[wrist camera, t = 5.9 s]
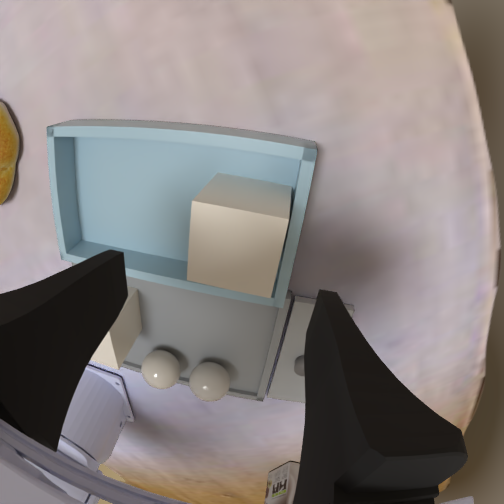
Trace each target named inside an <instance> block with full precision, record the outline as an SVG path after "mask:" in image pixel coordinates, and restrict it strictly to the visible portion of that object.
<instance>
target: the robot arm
mask: <svg viewBox="0 0 504 504" xmlns="http://www.w3.org/2000/svg"><path fill="white" fill-rule="evenodd" d="M127 298H128V288H127V279H126V270H125V260H124V252H121V251H116V250H112V249H109V250H107V251H104V252H102V253H99V254H97V255H95V256H93V257H90V258H88V259H86V260H84V261H82V262H80V263H78V264H76V265H74V266H72V267H70V268H68V269H66V270H63V271H61V272H59V273H57V274H55V275H52V276H50V277H48V278H46V279H44V280H41V281H39V282H36V283H34V284H31V285H28V286H25V287H23V288H20V289H17V290H13V291H10V292H6V293H2V294H0V504H97V503H98V501H99V499H100V498H101V499H103V500H105V501H108V502H110V503H113V504H190V503H186V502H182V501H178V500H175V499H171V498H167V497H164V496H161V495H157V494H154V493H151V492H148V491H145V490H142V489H139V488H136V487H133V486H130V485H128V484H125V483H122V482H120V481H117V480H115V479H112V478H109V477H107V476H105V475H103V474H102V472H101V471H100V470H98V467H99V465H100V464H102V463H104V462H105V461H106V460H107V459H108V458H109V457H110V456H111V454H112V451H113V449H114V447H115V444H116V442H117V440H118V438H119V435H120V433H121V431H122V429H123V426H124V424H125V422H126V421H129V422H134V416H133V413H132V410H131V407H130V404H129V401H128V398H127V395H126V391H125V388H124V385H123V381H122V379H121V378H120V377H119V376H117V375H114V374H111V373H108V372H105V371H102V370H100V369H97V368H94V367H92V366H89V365H87V364H88V363H89V361H90V359H91V357H92V356H93V354H94V353H95V351H96V350H97V348H98V347H99V345H100V344H101V342H102V341H103V339H104V338H105V336H106V335H107V333H108V332H109V330H110V328H111V327H112V325H113V324H114V322H115V321H116V319H117V318H118V316H119V314H120V312H121V310H122V308H123V306H124V304H125V302H126V300H127ZM304 374H305V426H304V436H303V445H302V452H301V460H300V467H299V473H298V479H297V485H296V490H295V495H294V500H293V504H434V498H435V497H437V496H438V495H439V489H438V485H439V484H440V483H442V482H443V481H445V480H446V479H448V478H449V477H450V476H452V475H453V474H455V473H456V472H457V471H458V470H460V469H461V468H462V467H463V465H464V464H465V463H466V461H467V458H468V455H467V451H466V447H465V443H464V439H463V435H462V432H461V430H460V429H459V428H457V427H456V426H454V425H453V424H451V423H450V422H448V421H447V420H445V419H444V418H442V417H441V416H439V415H438V414H437V413H435V412H434V411H433V410H432V409H430V408H429V407H428V406H427V405H425V404H424V403H423V402H422V401H421V400H419V399H418V398H417V397H416V396H415V395H414V394H413V393H412V392H411V391H409V390H408V389H407V388H406V387H405V386H404V385H403V384H402V383H401V382H400V381H399V380H398V379H397V378H396V377H395V375H394V374H393V373H392V372H391V371H390V370H389V369H388V368H387V366H386V365H385V364H384V363H383V362H382V361H381V359H380V358H379V357H378V356H377V354H376V353H375V352H374V350H373V349H372V347H371V346H370V345H369V343H368V342H367V341H366V339H365V338H364V336H363V335H362V333H361V332H360V330H359V329H358V327H357V325H356V324H355V322H354V321H353V319H352V317H351V316H350V314H349V312H348V311H347V309H346V307H345V306H344V304H343V302H342V300H341V299H340V297H339V296H338V294H337V292H332V291H326V290H319V293H318V297H317V300H316V303H315V306H314V309H313V312H312V316H311V319H310V322H309V325H308V328H307V331H306V339H305V350H304ZM441 504H474V501H473V497H471V496H469V497H465V498H461V499H457V500H452V501H448V502H445V503H441Z"/></svg>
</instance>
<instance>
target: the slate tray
mask: <svg viewBox="0 0 504 504" xmlns="http://www.w3.org/2000/svg"><path fill="white" fill-rule="evenodd" d="M76 264H77V263H73V262H72V266H74V265H76ZM126 279H127V286H129V287H133V288H137V289H138V297H139V306H140V315H141V323H142V330H141V332H140V333H139V335H138V337H137V339H136V340H135V342H134V344H133V346H132V347H131V349H130V351H129V353H128V355H127V356H126V358H125V360H124V362H123V363H122V365H121V367H124V368H127V369H130V370H133V371H136V372H140V373H142V372H141V365H142V362H143V360H144V358H145V357H146V355H148V354H149V353H150V352H152V351H155V350H165V351H168V352H170V353H172V354H173V355H174V356H175V357H176V358H177V360H178V361H179V363H180V367H181V374H180V378H179V380H178V381H177V383H179V384H182V385H186V386H190V385H189V377H190V374H191V372H192V370H193V369H194V368H195V367H196V366H197V365H199V364H201V363H204V362H214V363H217V364H220V365H221V366H223V367H224V368H225V369H226V371H227V372H228V374H229V376H230V388H229V390H228V392H227V394H226V395H230V396H235V397H241V398H246V399H251V400H257V401H263V399H264V396H265V392H266V389H267V386H268V382H269V379H270V375H271V372H272V368H273V365H274V361H275V357H276V354H277V350H278V347H279V343H280V339H281V336H282V332H283V328H284V324H285V321H286V317H287V313H288V309H289V305H290V301H291V291H288V290H287V294H286V298H285V302H284V306H283V308H278V307H273V306H267V305H262V304H256V303H251V302H246V301H241V300H235V299H230V298H225V297H220V296H215V295H210V294H206V293H201V292H196V291H191V290H186V289H182V288H177V287H173V286H168V285H164V284H159V283H155V282H150V281H146V280H142V279H137V278H133V277H129V276H126ZM316 300H317V299H312V298H306V297H300V296H295V298H294V302H293V306H292V309H291V313H290V317H289V321H288V324H287V328H286V331H285V335H284V339H283V342H282V346H281V349H280V353H279V356H278V360H277V363H276V367H275V370H274V373H273V377H272V380H271V384H270V387H269V390H268V395H267V398H273V399H279V400H286V401H293V402H301V403H305V374H304V350H305V339H306V331H307V328H308V325H309V322H310V319H311V316H312V312H313V309H314V306H315V303H316ZM344 306H345V307H346V309H347V311H348V312H349V314H350V316H351V317H352V316H353V313H354V306H353V305H348V304H344Z"/></svg>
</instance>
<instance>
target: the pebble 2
mask: <svg viewBox="0 0 504 504" xmlns="http://www.w3.org/2000/svg"><path fill="white" fill-rule="evenodd" d="M189 385H190V388H191V391H192V392H193V394H194V395H195V396H196V397H198V398H199V399H201V400H203V401H208V402H212V401H217V400H220V399H221V398H223V397H224V396H225V395H226V394H227V392H228V390H229V388H230V376H229V374H228V372H227V371H226V369H225V368H224V367H223V366H221V365H220V364H217V363H214V362H204V363H201V364H199V365H197V366H196V367H195V368H194V369H193V370H192V372H191V374H190V377H189Z"/></svg>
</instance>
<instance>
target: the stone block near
mask: <svg viewBox="0 0 504 504" xmlns="http://www.w3.org/2000/svg"><path fill="white" fill-rule="evenodd" d="M291 190H292V186H288V185H283V184H278V183H273V182H268V181H263V180H258V179H252V178H247V177H242V176H236V175H230V174H225V173H219V172H218V173H217V174H216V175H215V176H214V177H213V178H212V179H211V180H210V181H209V182H208V184H207V185H206V186H205V187H204V188H203V189H202V190H201V191H200V192H199V193H198V195H197V196H196V197H195V198H194V199H193V200H192V206H191V219H190V233H189V248H188V266H187V280H188V281H193V282H197V283H201V284H206V285H210V286H215V287H219V288H224V289H228V290H233V291H238V292H242V293H247V294H252V295H257V296H262V297H266V298H271V295H272V291H273V286H274V282H275V278H276V274H277V270H278V265H279V261H280V257H281V253H282V248H283V244H284V240H285V235H286V231H287V226H288V222H289V214H290V202H291Z"/></svg>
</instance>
